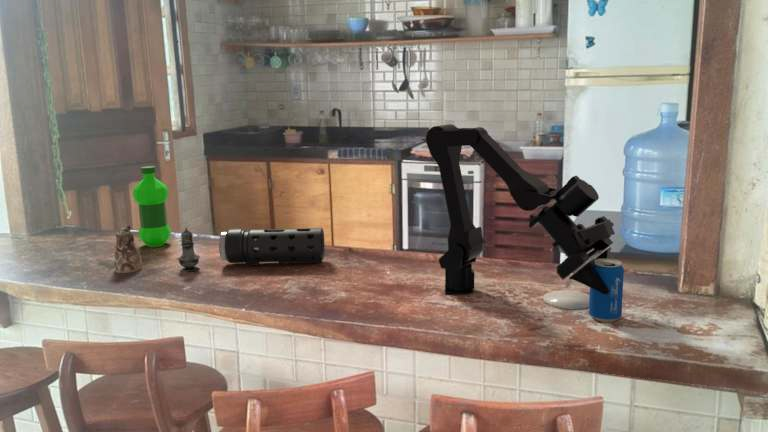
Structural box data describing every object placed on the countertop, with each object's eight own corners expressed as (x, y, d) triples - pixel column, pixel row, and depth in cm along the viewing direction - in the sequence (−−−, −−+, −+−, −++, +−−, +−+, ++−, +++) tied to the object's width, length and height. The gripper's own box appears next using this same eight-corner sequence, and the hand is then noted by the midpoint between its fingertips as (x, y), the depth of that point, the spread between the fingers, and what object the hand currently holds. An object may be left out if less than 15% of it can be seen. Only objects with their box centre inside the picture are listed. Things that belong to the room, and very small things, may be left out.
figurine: (109, 272, 182) (104, 229, 179) (126, 264, 188) (122, 223, 186) (130, 273, 180) (125, 230, 177) (147, 266, 186) (143, 225, 184)
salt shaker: (187, 274, 177) (183, 231, 175) (174, 271, 181) (170, 228, 178) (205, 269, 182) (201, 226, 179) (192, 266, 185) (188, 224, 183)
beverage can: (600, 325, 134) (602, 268, 131) (582, 314, 140) (584, 259, 138) (627, 321, 136) (630, 264, 133) (609, 310, 142) (611, 256, 139)
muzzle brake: (321, 268, 180) (319, 231, 178) (219, 270, 181) (216, 233, 179) (325, 258, 190) (323, 223, 187) (228, 260, 190) (225, 225, 188)
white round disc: (547, 309, 144) (547, 306, 144) (540, 292, 154) (540, 290, 154) (599, 309, 143) (599, 306, 143) (588, 292, 153) (588, 290, 153)
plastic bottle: (162, 249, 205) (154, 169, 200) (132, 248, 207) (123, 169, 202) (179, 241, 214) (171, 165, 209) (150, 240, 217) (142, 164, 212)
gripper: (573, 214, 128) (629, 277, 124) (605, 198, 143) (655, 255, 138) (534, 248, 134) (586, 310, 130) (568, 230, 149) (616, 284, 145)
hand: (613, 288), depth 136 cm, fingers closed on beverage can, 6 cm apart
